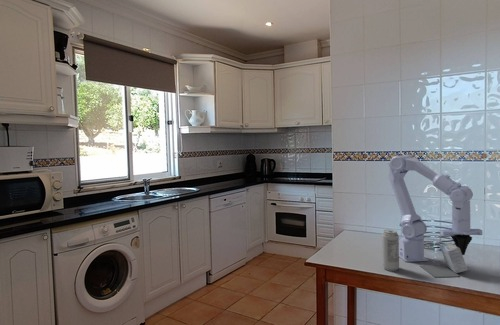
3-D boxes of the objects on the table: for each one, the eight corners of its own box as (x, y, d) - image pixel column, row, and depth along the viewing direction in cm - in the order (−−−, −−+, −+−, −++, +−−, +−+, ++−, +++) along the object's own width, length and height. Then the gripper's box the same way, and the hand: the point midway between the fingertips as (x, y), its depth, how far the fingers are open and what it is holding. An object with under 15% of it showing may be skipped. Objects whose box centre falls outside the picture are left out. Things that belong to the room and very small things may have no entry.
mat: (434, 277, 118) (434, 276, 118) (419, 266, 129) (419, 265, 128) (459, 276, 117) (459, 276, 117) (442, 265, 128) (442, 264, 128)
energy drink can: (394, 265, 130) (394, 228, 130) (402, 271, 124) (401, 232, 124) (379, 266, 130) (379, 229, 129) (386, 272, 124) (386, 233, 123)
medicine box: (468, 270, 118) (460, 248, 119) (455, 273, 119) (447, 251, 120) (458, 263, 126) (451, 242, 127) (446, 266, 127) (439, 245, 127)
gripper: (447, 221, 118) (448, 258, 118) (488, 220, 117) (488, 257, 118) (437, 217, 125) (437, 251, 126) (475, 216, 124) (475, 250, 125)
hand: (461, 254), depth 122 cm, fingers closed
